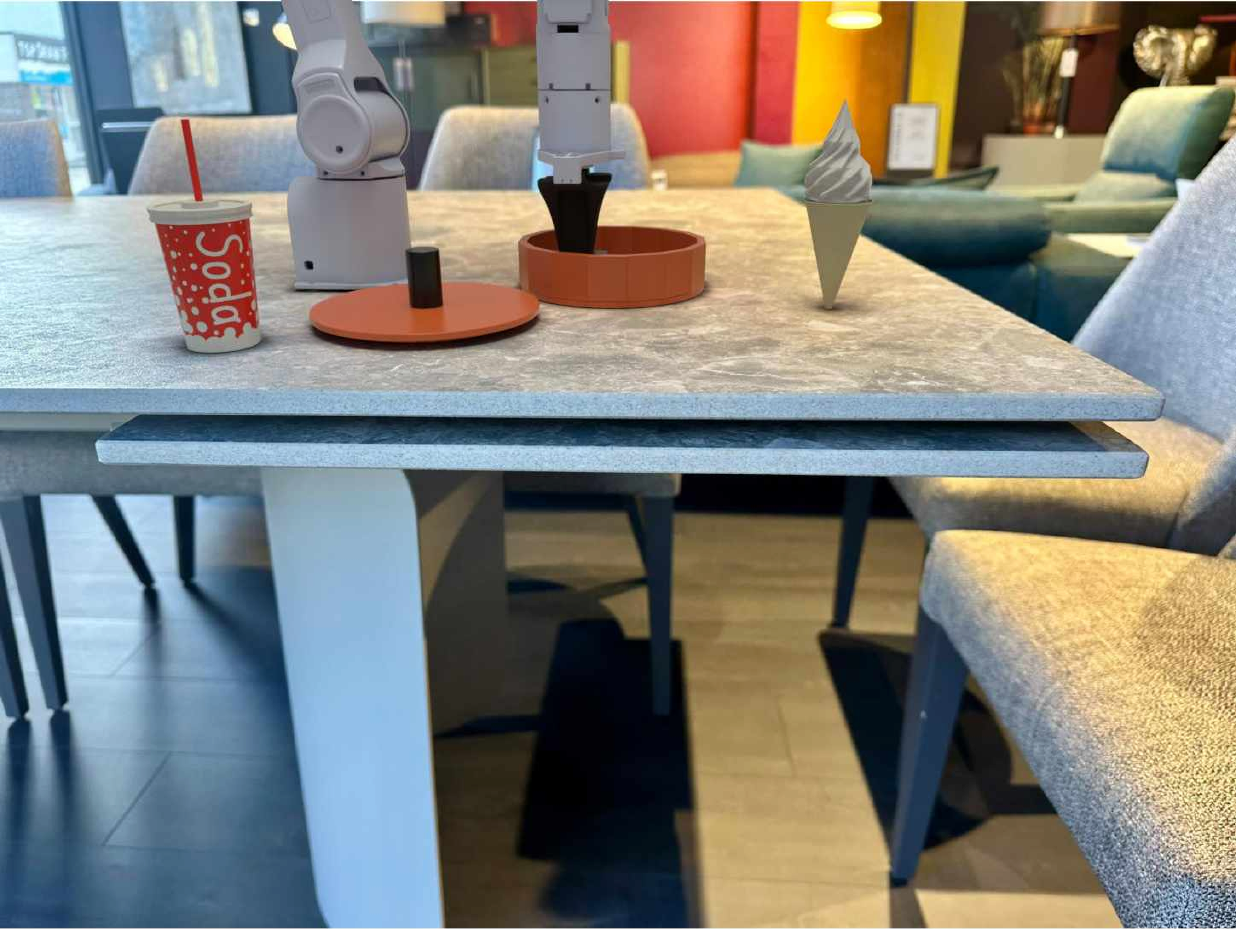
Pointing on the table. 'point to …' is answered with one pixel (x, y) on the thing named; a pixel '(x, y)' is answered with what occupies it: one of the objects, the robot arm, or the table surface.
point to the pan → (615, 268)
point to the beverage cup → (209, 265)
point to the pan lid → (424, 307)
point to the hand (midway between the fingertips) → (577, 264)
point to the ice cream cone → (837, 202)
